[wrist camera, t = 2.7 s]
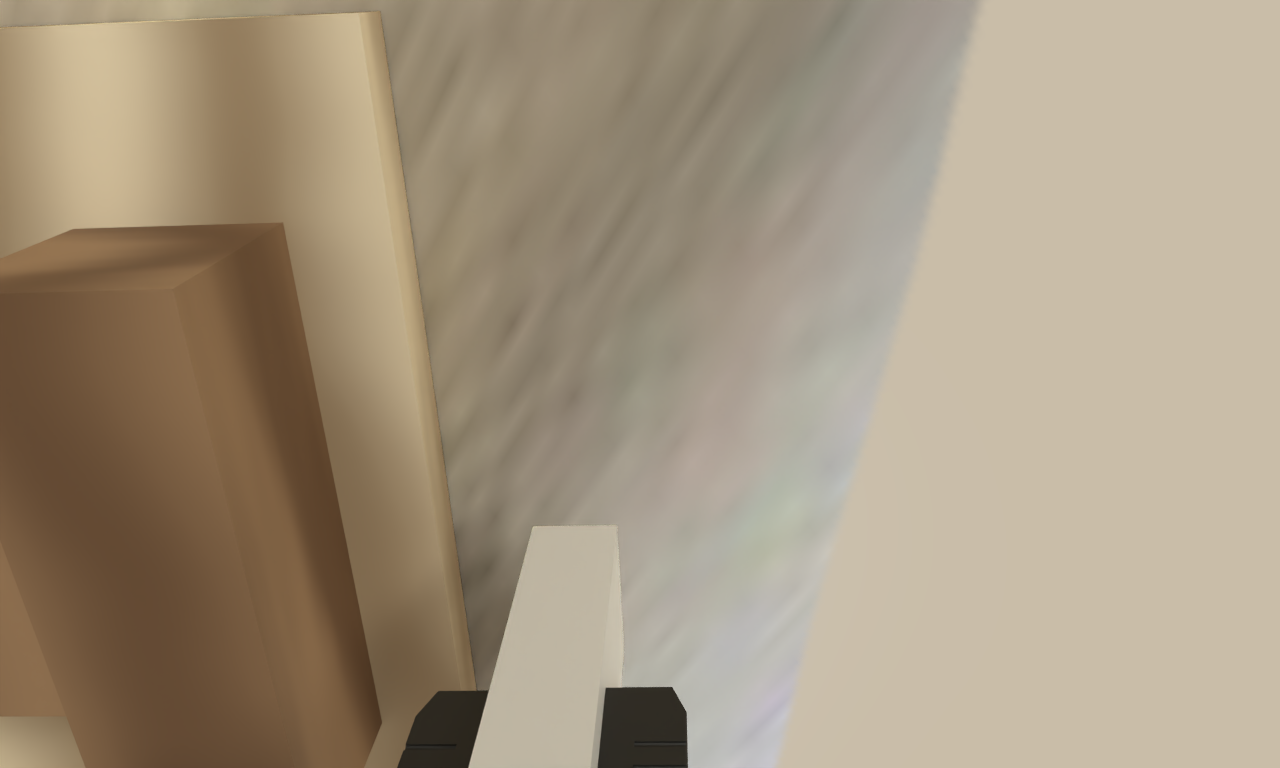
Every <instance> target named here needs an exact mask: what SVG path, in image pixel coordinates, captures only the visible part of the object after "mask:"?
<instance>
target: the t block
mask: <svg viewBox="0 0 1280 768" xmlns="http://www.w3.org/2000/svg"><path fill="white" fill-rule="evenodd" d="M49 716H66V717H67V720H68V723H69V725H70V728H71V731H72V733H73V736H74V739H75V741H76V744H77V747H78V749H79V752H80V754H81V757H82V760H83V762H84V765H85V768H364V767H365V764H366V762H367V759H368V757H369V754H370V752H371V749H372V747H373V744H374V742H375V739H376V737H377V734H378V732H379V729H380V727H381V725H382V719H381V714H380V709H379V704H378V699H377V694H376V689H375V684H374V679H373V674H372V669H371V664H370V659H369V654H368V649H367V644H366V639H365V634H364V628H363V623H362V618H361V613H360V608H359V603H358V598H357V593H356V588H355V583H354V578H353V573H352V568H351V563H350V558H349V553H348V548H347V543H346V538H345V533H344V528H343V523H342V517H341V512H340V507H339V502H338V497H337V492H336V487H335V482H334V477H333V472H332V467H331V462H330V457H329V452H328V447H327V442H326V437H325V432H324V427H323V422H322V417H321V412H320V407H319V401H318V396H317V391H316V386H315V381H314V376H313V371H312V366H311V361H310V356H309V351H308V346H307V341H306V336H305V331H304V326H303V321H302V316H301V311H300V306H299V301H298V296H297V291H296V285H295V280H294V275H293V270H292V265H291V260H290V255H289V250H288V245H287V240H286V235H285V230H284V225H283V222H282V223H249V224H216V225H183V226H150V227H117V228H84V229H72V230H69V231H67V232H64V233H62V234H59V235H57V236H54V237H52V238H50V239H47V240H45V241H42V242H40V243H37V244H35V245H32V246H30V247H27V248H25V249H22V250H20V251H18V252H15V253H13V254H10V255H8V256H5V257H3V258H0V717H49Z"/></svg>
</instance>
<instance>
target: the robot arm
mask: <svg viewBox="0 0 1280 768" xmlns="http://www.w3.org/2000/svg"><path fill="white" fill-rule="evenodd" d="M623 659H624V636H623V618H622V601H621V583H620V566H619V548H618V531H617V525H576V526H533V528H532V532H531V536H530V539H529V543H528V547H527V550H526V554H525V558H524V562H523V565H522V569H521V573H520V577H519V580H518V584H517V588H516V592H515V595H514V599H513V603H512V607H511V610H510V614H509V618H508V621H507V625H506V629H505V633H504V636H503V640H502V644H501V648H500V651H499V655H498V659H497V663H496V666H495V670H494V674H493V678H492V681H491V685H490V689H489V691H438V692H437V693H436V694H435V695H434V696H433V697H432V698H431V700H430V701H429V702H428V703H427V704H426V705H425V706H424V707H423V708H422V709H421V711H420V712H419V713H418V714H417V715H416V717H415V719H414V722H413V725H412V728H411V730H410V733H409V736H408V739H407V742H406V744H405V745H406V747H405V750H403V753H402V755H401V758H400V761H399V764H398V767H397V768H688V752H687V713H686V711H685V709H684V707H683V705H682V704H681V702H680V700H679V698H678V697H677V695H676V693H675V691H674V690H673V688H672V687H623V688H621V685H622V672H623Z"/></svg>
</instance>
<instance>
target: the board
mask: <svg viewBox="0 0 1280 768" xmlns="http://www.w3.org/2000/svg"><path fill="white" fill-rule="evenodd" d="M282 222H283V225H284V230H285V235H286V240H287V245H288V250H289V255H290V260H291V265H292V270H293V275H294V280H295V285H296V291H297V296H298V301H299V306H300V311H301V316H302V321H303V326H304V331H305V336H306V341H307V346H308V351H309V356H310V361H311V366H312V371H313V376H314V381H315V386H316V391H317V396H318V401H319V407H320V412H321V417H322V422H323V427H324V432H325V437H326V442H327V447H328V452H329V457H330V462H331V467H332V472H333V477H334V482H335V487H336V492H337V497H338V502H339V507H340V512H341V517H342V523H343V528H344V533H345V538H346V543H347V548H348V553H349V558H350V563H351V568H352V573H353V578H354V583H355V588H356V593H357V598H358V603H359V608H360V613H361V618H362V623H363V628H364V634H365V639H366V644H367V649H368V654H369V659H370V664H371V669H372V674H373V679H374V684H375V689H376V694H377V699H378V704H379V709H380V714H381V719H382V725H381V727H380V729H379V732H378V734H377V737H376V739H375V742H374V744H373V747H372V749H371V752H370V754H369V757H368V759H367V762H366V764H365V767H364V768H397V767H398V764H399V761H400V758H401V755H402V753H403V750H405V747H406V745H405V744H406V742H407V739H408V736H409V733H410V730H411V728H412V725H413V722H414V719H415V717H416V715H417V714H418V713H419V712H420V711H421V709H422V708H423V707H424V706H425V705H426V704H427V703H428V702H429V701H430V700H431V698H432V697H433V696H434V695H435V694H436V693H437V692H438V691H477V689H476V682H475V675H474V668H473V661H472V654H471V647H470V640H469V633H468V626H467V619H466V612H465V605H464V598H463V591H462V584H461V576H460V569H459V562H458V555H457V548H456V541H455V534H454V527H453V520H452V513H451V506H450V499H449V492H448V485H447V478H446V471H445V464H444V457H443V450H442V443H441V436H440V429H439V422H438V415H437V408H436V400H435V393H434V386H433V379H432V372H431V365H430V358H429V351H428V344H427V337H426V330H425V323H424V316H423V309H422V302H421V295H420V288H419V281H418V274H417V267H416V260H415V253H414V246H413V239H412V231H411V224H410V217H409V210H408V203H407V196H406V189H405V182H404V175H403V168H402V161H401V154H400V147H399V140H398V133H397V126H396V119H395V112H394V105H393V98H392V91H391V84H390V77H389V70H388V63H387V55H386V48H385V41H384V34H383V27H382V20H381V13H380V11H373V12H349V13H326V14H302V15H279V16H256V17H232V18H209V19H185V20H162V21H138V22H115V23H91V24H68V25H44V26H21V27H0V258H3V257H5V256H8V255H10V254H13V253H15V252H18V251H20V250H22V249H25V248H27V247H30V246H32V245H35V244H37V243H40V242H42V241H45V240H47V239H50V238H52V237H54V236H57V235H59V234H62V233H64V232H67V231H69V230H72V229H84V228H117V227H150V226H183V225H216V224H249V223H282ZM0 768H85V765H84V762H83V760H82V757H81V754H80V752H79V749H78V747H77V744H76V741H75V739H74V736H73V733H72V731H71V728H70V725H69V723H68V720H67V717H66V716H49V717H0Z"/></svg>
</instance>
